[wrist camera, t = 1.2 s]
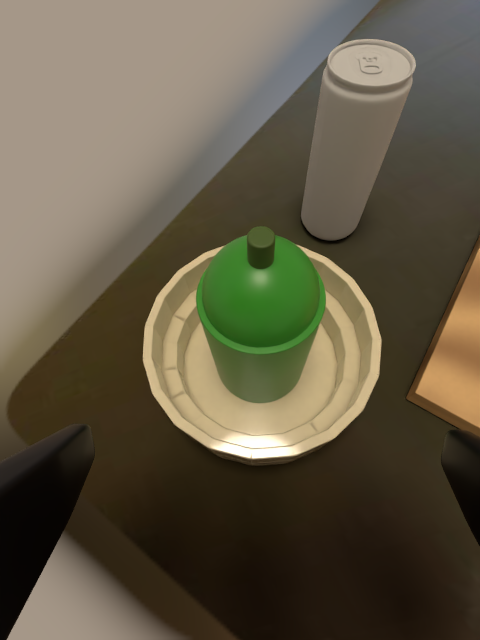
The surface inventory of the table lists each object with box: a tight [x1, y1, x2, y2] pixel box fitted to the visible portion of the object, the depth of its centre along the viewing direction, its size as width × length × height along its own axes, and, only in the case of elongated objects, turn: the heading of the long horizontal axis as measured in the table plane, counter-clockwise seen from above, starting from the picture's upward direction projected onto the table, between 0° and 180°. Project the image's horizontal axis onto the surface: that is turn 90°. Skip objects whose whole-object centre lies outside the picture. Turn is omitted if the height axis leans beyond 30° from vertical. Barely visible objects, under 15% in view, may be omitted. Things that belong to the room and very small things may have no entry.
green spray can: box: [196, 226, 326, 403], centre depth 17 cm, size 6×6×12 cm
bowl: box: [143, 245, 381, 466], centre depth 21 cm, size 13×13×5 cm
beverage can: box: [301, 39, 416, 241], centre depth 23 cm, size 5×5×12 cm
